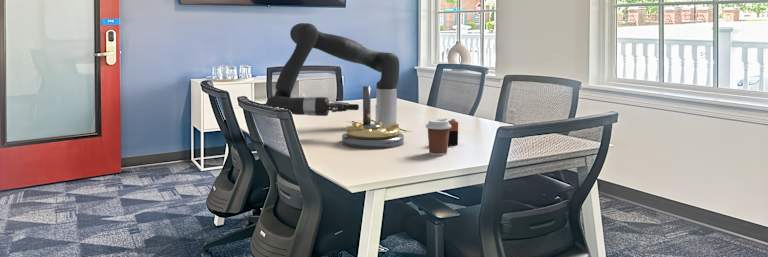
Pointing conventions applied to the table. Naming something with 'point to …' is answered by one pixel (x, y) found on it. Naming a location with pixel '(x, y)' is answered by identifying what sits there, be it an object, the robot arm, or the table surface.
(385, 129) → the gold base with rod
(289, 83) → the robot arm
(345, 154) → the table surface
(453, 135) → the battery
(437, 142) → the coffee cup
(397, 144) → the cap housing
